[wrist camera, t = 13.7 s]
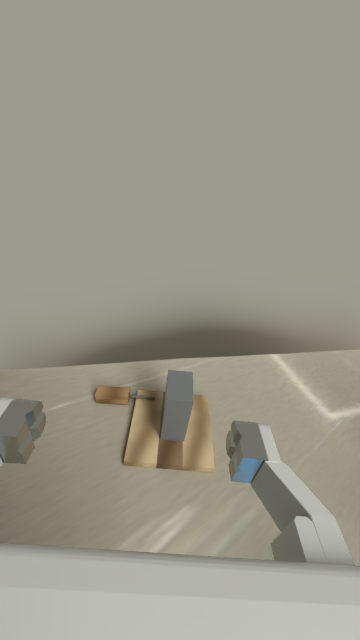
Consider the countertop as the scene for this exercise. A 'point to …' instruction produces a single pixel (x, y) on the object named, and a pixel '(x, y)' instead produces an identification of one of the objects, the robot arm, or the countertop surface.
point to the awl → (116, 395)
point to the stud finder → (177, 405)
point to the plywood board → (169, 453)
